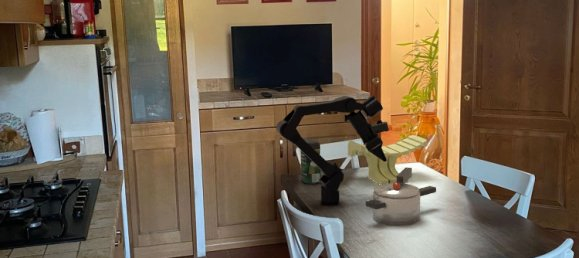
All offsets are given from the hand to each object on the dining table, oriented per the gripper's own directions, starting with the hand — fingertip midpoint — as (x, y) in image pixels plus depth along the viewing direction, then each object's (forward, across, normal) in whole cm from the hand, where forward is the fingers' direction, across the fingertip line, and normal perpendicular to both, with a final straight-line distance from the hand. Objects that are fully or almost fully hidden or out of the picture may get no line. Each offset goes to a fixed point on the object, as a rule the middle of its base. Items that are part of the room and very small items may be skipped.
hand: (384, 159), depth 223 cm
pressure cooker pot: (+17, -18, +6) cm, 26 cm away
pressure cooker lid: (+9, -16, +1) cm, 18 cm away
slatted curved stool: (+15, +33, +4) cm, 37 cm away
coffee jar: (-4, +31, +32) cm, 44 cm away
